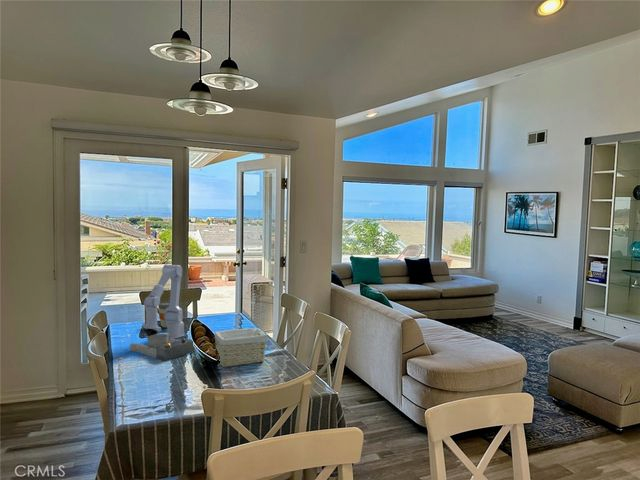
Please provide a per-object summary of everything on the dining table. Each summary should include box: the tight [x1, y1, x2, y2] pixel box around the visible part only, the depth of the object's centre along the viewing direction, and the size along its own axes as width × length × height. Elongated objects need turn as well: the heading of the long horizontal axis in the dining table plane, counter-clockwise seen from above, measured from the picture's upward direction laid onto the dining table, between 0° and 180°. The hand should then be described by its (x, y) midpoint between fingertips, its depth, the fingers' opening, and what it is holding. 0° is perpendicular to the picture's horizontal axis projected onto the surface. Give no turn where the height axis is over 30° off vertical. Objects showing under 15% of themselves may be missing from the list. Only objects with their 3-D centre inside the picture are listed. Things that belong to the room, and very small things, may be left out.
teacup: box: [146, 332, 171, 348], centre depth 233 cm, size 14×11×8 cm
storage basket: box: [214, 327, 268, 368], centre depth 218 cm, size 24×16×15 cm
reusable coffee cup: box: [157, 300, 170, 328], centre depth 282 cm, size 13×13×15 cm
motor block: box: [129, 338, 194, 362], centre depth 231 cm, size 22×28×7 cm
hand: (151, 342), depth 236 cm, fingers closed
